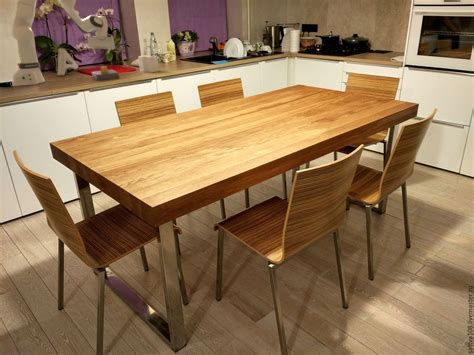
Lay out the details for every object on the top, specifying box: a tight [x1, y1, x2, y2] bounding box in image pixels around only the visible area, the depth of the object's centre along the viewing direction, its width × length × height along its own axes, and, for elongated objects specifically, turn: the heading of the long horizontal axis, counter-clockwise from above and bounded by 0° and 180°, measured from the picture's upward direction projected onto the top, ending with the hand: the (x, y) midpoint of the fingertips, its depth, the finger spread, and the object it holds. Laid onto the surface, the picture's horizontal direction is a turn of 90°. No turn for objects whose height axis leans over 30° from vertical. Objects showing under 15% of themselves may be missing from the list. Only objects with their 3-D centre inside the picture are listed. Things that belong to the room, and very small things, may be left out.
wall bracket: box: [57, 48, 79, 77], centre depth 326 cm, size 22×4×30 cm
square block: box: [100, 65, 109, 73], centre depth 297 cm, size 4×4×8 cm
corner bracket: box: [137, 54, 160, 73], centre depth 318 cm, size 11×11×12 cm
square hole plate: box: [91, 69, 120, 81], centre depth 298 cm, size 16×16×4 cm
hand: (101, 53), depth 305 cm, fingers open, 8 cm apart
